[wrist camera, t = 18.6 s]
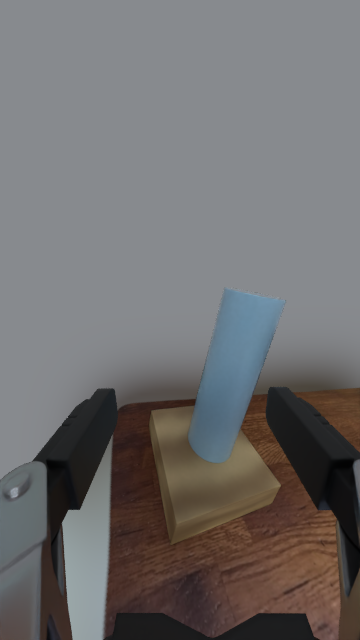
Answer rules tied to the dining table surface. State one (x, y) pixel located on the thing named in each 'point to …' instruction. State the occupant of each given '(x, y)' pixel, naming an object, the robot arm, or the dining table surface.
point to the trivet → (204, 478)
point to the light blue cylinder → (232, 370)
